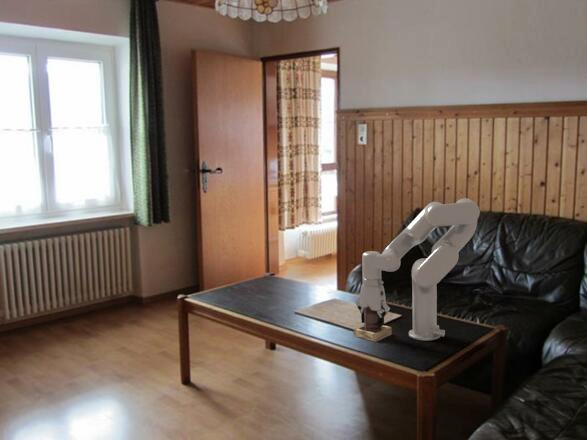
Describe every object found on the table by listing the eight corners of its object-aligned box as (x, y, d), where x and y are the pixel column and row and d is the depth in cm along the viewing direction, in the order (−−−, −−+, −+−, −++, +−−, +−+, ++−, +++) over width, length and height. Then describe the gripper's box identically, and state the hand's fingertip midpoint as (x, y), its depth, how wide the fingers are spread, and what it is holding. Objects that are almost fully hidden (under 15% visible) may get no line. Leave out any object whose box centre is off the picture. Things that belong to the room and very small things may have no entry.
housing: (391, 334, 248) (391, 327, 248) (376, 341, 240) (375, 334, 240) (369, 328, 256) (369, 322, 255) (353, 336, 248) (353, 329, 247)
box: (377, 331, 251) (377, 303, 249) (380, 335, 246) (380, 306, 244) (363, 332, 250) (363, 304, 248) (366, 336, 245) (365, 307, 244)
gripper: (395, 283, 241) (395, 325, 244) (360, 277, 253) (360, 317, 256) (384, 287, 236) (385, 330, 239) (349, 280, 248) (350, 322, 250)
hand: (372, 323), depth 247 cm, fingers open, 7 cm apart
